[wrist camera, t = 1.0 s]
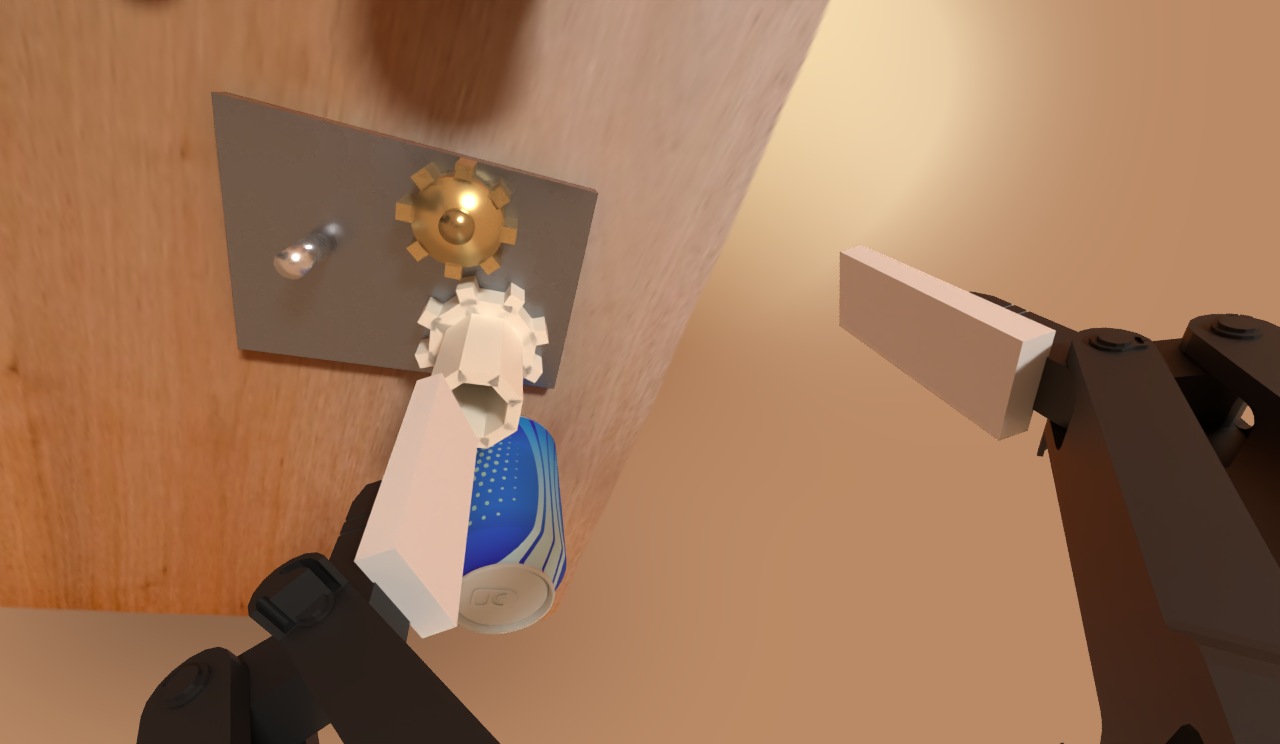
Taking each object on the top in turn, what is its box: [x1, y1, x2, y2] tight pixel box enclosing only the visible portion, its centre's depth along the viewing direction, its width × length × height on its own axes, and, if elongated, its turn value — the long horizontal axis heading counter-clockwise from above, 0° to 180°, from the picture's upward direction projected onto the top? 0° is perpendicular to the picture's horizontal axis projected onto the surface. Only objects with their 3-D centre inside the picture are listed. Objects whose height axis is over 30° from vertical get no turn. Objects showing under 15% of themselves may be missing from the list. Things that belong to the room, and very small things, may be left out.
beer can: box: [457, 416, 566, 634], centre depth 37 cm, size 8×8×16 cm
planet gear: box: [415, 276, 549, 449], centre depth 32 cm, size 9×9×10 cm
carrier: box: [211, 92, 598, 389], centre depth 32 cm, size 22×16×6 cm
